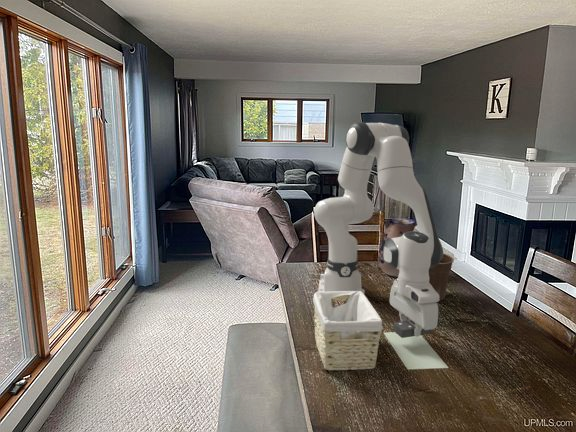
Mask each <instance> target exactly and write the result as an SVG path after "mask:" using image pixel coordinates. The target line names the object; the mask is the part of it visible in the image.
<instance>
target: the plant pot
mask: <svg viewBox="0 0 576 432" xmlns="http://www.w3.org/2000/svg"><path fill="white" fill-rule="evenodd" d="M454 262H455V259H454V257H453V256H451V255H449V254H445V253H443V258H442V260H441V261H440V262H439V264H438V265H437V266H436V267H434V268H429V283H430V284H431V286H432V287H433V288H434V290H435V291H436V292H437V293H438V294H439V297H440V298H439V301H440V302H441V301H443V300H444V299H445V298H446V292H447V288H448V287H447V286H448V282H449V277H450V273H451V272H450V271H452V266H453V263H454Z"/></svg>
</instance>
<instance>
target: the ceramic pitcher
mask: <svg viewBox="0 0 576 432" xmlns="http://www.w3.org/2000/svg"><path fill="white" fill-rule="evenodd" d="M416 227H418V225H417V221H416V220H414V219H408V218H400V217H399V218H398V217H394V218H392V219H385V220H384V231H383V236H382V239H381V242H380V246H379V250H378V254H377V262H378V265H379V267H380V269H381V270H382V272H383V273H385V274H386V275H387V276H390V277H394V278H395V277H396V278H398V276H399V269H394V268H391V267H390V266H388V265H387V264H386V263H385V262H384V260H383V246H384V244H385V243H386V241H387V240H388V239H391V238H396V237H401V236H402V235H403V234H404V233H406V232H409V231H414V230H415V228H416Z"/></svg>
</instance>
